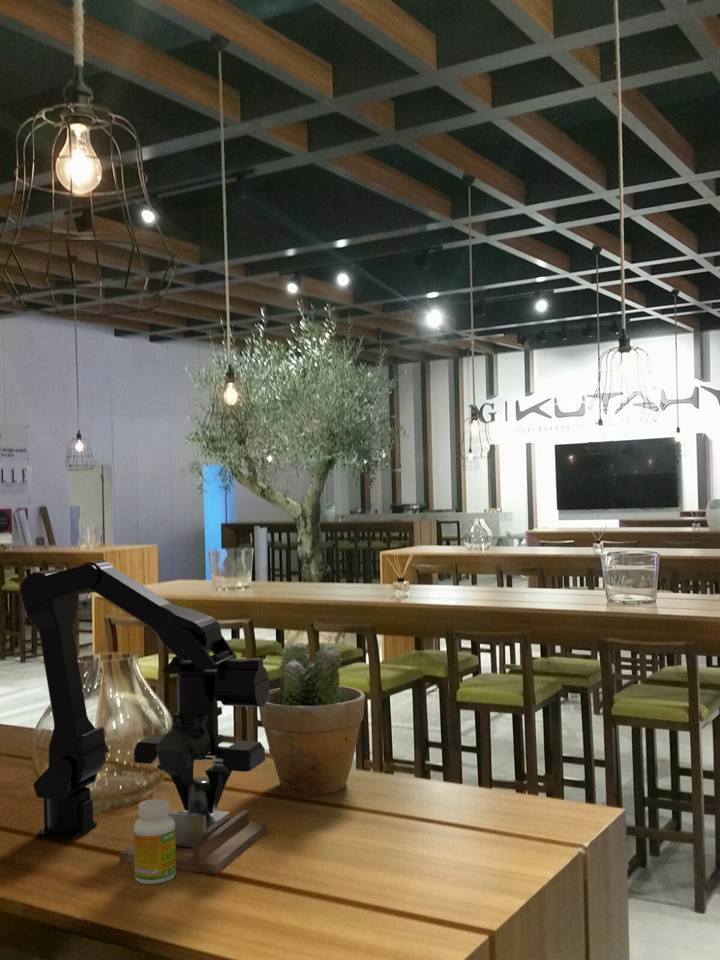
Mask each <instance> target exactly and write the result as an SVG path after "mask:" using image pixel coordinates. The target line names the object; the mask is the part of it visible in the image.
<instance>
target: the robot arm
mask: <svg viewBox="0 0 720 960" xmlns="http://www.w3.org/2000/svg"><path fill="white" fill-rule="evenodd" d="M88 591H93V592H94V593H96V594H98V595H99V596H101V597H102V598H104V599H105V600H107V601H109V602H110V603H111V604H113V605H115V606H116V607H118V608H119V609H121V610H123V611H124V612H126V613H127V614H129V615H131V616H132V617H134V619H137V620H138V621H140V622H142V623H143V624H144V625H145V626H148V627H149V628H150V629H151V630H153V631H154V633H155V634H156V635H157V637H158V639H159V640H160V642H161V643H162V645H164V646H165V647H166V648H167V649H168V650H169V651H170V652H171V653H173V654H174V656H173V657H172V660H170V662H169V663H168V664H167V665H166V666H165V667H164V668H163V669H162V673H163V674H166V675H176V682H177V683H176V684H177V685H176V686H177V688H176V689H177V713H174V714H173V716H172V717H173V718H172V720H171V721H172V725H171V727H170V728H171V729H170V730H169V731H167V732H166V733H165V734H155V733H154V734H151V735H150V736H147V737H145V738H143V739H141V740H140V741H138V742H137V743H136V744H135V746H134V748H133V762H134V763H137V764H148V765H151V764H153V763H154V762H155V761H156V760H158V763H159V764H158V765H157V769H158V770H159V771H163V772H165V773H166V774H168V775H169V777H170V778H171V780H172V781H173V784H174V786H175V787H176V791H177V793H178V796H179V798H180V800H181V802H182V806H183V808H184V810H185V811H188V793H187V781H188V780H190V779H193V778H194V764H195V763H194V762H195V761H196V760H199V761H203V760H211V761H212V766H211V767H209V768H207V769H206V770H205V771H204V772H205V774H206V776H207V778H209V810H210V813H212V814H213V813H214V812H215V811H217V808H218V805H219V803H220V801H221V797H222V795H223V792H224V789H225V787H226V784H227V782H228V779H229V778H230V776H231V774H232V771H233V772H243V773H246V772H251V771H253V769H255V768H257V767H258V766H260V764H262V763H264V762H265V761H266V749H265V747H264V746H263V744H262V743H261V741H252V740H238V741H236V742H235V743H232V744H231V745H230V746H219V745H220V744H222V743H223V741H224V740H223V738H224V737H223V734H219V716H222V714H223V707H222V706H218V702H220V703H221V704H222V705H223V706H229V707H230V706H231V707H251V708H259V707H263V706H264V705H265V704H266V702H267V699H268V696H269V690H271V688H270V687H271V679H270V677H269V675H268V671H267V669H266V667H265V666H264V659H263V658H262V657H252V658H238V657H237V655H236V652H235V651H234V650H233V649H232V647H231V646H230V645H229V643H228V642H227V640H226V639H225V637H224V636H223V634H222V630H221V625H220V623H219V622H218V620H217V619H215V618H214V617H213V616H211V615H208V614H206V613H203V612H201V611H198V610H196V609H192V608H189V607H188V608H187V607H184V606H180V605H177V604H174V603H172V602H170V601H168V600H167V599H166V598H163V597H162V596H161V595H159V594H157V593H156V592H154V591H153V590H151V589H149V588H147V587H146V586H144V585H143V584H141V583H140V582H138V581H136V580H135V579H134V578H132V577H130V576H129V575H127V574H126V573H124V572H122V571H121V570H119V569H117V568H116V567H114V565H113V564H112V563H110V562H109V561H107V560H104V559H101V560H93V561H88V562H86V563H83V564H82V565H79V566H76V567H72V568H69V569H64V568H54V569H47V570H42V571H35V572H32V573H29V574H28V575H27V576H26V577H25V578H24V580H23V581H22V583H21V584H20V587H19V595H20V599H21V603H22V606H23V609H24V611H25V614H26V616H27V618H28V620H29V621H30V622H31V624H33V626H34V627H35V629H36V630H37V631H38V635H39V641H40V645H41V646H40V648H41V652H42V657H43V664H44V671H45V677H46V682H47V688H48V689H47V690H48V695H49V701H50V707H51V712H52V713H51V714H52V719H53V730H52V733H51V738H50V740H49V744H48V748H47V749H48V751H47V752H48V753H47V754H48V767H47V769H46V770H44V772H43V773H42V774H41V775H40V776H39V777H38V778H37V780H36V781H35V782H33V790H34V791H35V794H36V798H37V799H38V798H39V799H43V803H42V804H43V828H41V829H40V830H38V831H36V832H37V833H36V834H37V835H36V836H41V837H50V838H56V839H58V838H59V839H65V840H73V839H76V838H78V837H79V836H81V835H83V834H84V833H86V832H89V831H90V830H91V829H93V828H95V827H97V825H98V821H96V820H94V814H93V813H94V804H93V801H94V800H93V798H91V788H90V787H87V786H89V785H90V784H94V783H95V782H96V780H97V776H98V773H99V772H100V771H101V770H102V768H103V767H104V765H105V764H106V761H107V759H106V758H107V753H109V752H110V750H109V748H108V746H107V744H106V735H105V732H106V731H105V728H104V726H99V727H95V726H94V725H93V723H92V722H91V720H90V719H89V718H88V717H89V716H88V713H87V707H86V701H85V695H84V689H83V684H82V683H83V682H82V676H81V670H80V665H79V659H78V654H77V646H76V640H75V634H74V629H73V626H74V620H75V616H76V613H77V610H78V606H79V605H78V604H79V603H78V602H79V599H78V598H79V596H78V594H81V593H84V592H88ZM211 653H212V654H211ZM210 654H211V655H210Z"/></svg>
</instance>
